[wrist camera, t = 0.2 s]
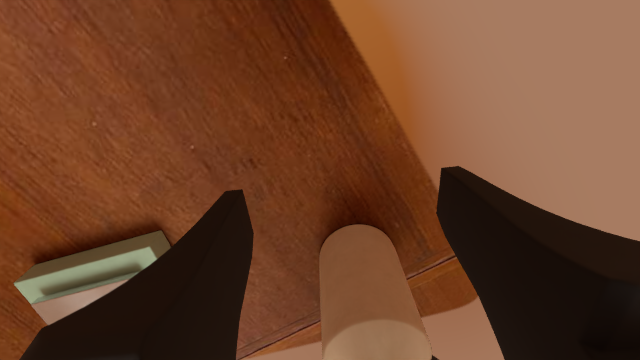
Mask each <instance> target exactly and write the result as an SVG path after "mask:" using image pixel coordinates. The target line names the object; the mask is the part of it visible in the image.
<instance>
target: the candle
mask: <svg viewBox="0 0 640 360" xmlns="http://www.w3.org/2000/svg"><path fill="white" fill-rule="evenodd" d="M319 272H320V302H321V331H322V359H323V360H431V358H432V349H431V345H430V342H429V339H428V337H427V334H426V331H425V328H424V326H423V323H422V320H421V317H420V315H419V312H418V309H417V307H416V304H415V301H414V299H413V296H412V293H411V291H410V288H409V285H408V283H407V280H406V277H405V274H404V272H403V269H402V266H401V264H400V261H399V258H398V256H397V253H396V250H395V248H394V246H393V244H392V242H391V240H390V239H389V238H388V236H387V235H386V234H385V233H384V232H382V231H381V230H379V229H377V228H375V227H372V226H369V225H361V224H357V225H350V226H346V227H343V228H341V229H338V230H337V231H335V232H334V233H332V234H331V235H330V236H329V237H328V238H327V239H326V240H325V242H324V244H323V245H322V248H321V251H320V256H319Z"/></svg>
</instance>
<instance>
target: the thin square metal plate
mask: <svg viewBox="0 0 640 360" xmlns="http://www.w3.org/2000/svg"><path fill="white" fill-rule="evenodd" d="M137 273H139V272H138V271H137V272H133V273H130V274H126V275H122V276H118V277H114V278H111V279H107V280H103V281H99V282H95V283H92V284H88V285H84V286H80V287H76V288H73V289H69V290H65V291H61V292H57V293H54V294H50V295H46V296H42V297H39V298H37V299H36V300H35V301H34V302H33V303H32V304H31V306H32V307H33V308H34V310H35V311H36V312H37V313H38V314H39V315H40V317H41V318H42V319H43V320H44V321H45V322H46V324H47V325H50V324H52V323H54V322H56V321H58V320H60V319H62V318H63V317H65V316H67V315H69V314H71V313H73V312H75V311H77V310H79V309H81V308H83V307H85V306H86V305H88V304H90V303H92V302H94V301H95V300H97V299H99V298H100V297H102V296H104V295H106V294H107V293H109V292H110V291H112V290H114V289H115V288H117V287H118V286H120V285H122V284H123V283H125V282H126V281H127V280H129V279H130V278H132V277H133V276H135V275H136V274H137Z"/></svg>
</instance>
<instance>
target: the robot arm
mask: <svg viewBox="0 0 640 360" xmlns="http://www.w3.org/2000/svg"><path fill="white" fill-rule="evenodd" d="M436 214H437V216H438V219H439V222H440V224H441V227H442V229H443V232H444V234H445V237H446V239H447V240H448V242H449V244H450V246H451V248H452V249H453V251H454V253H455V255H456V257H457V258H458V260H459V262H460V264H461V265H462V267H463V269H464V271H465V272H466V274H467V276H468V278H469V279H470V281H471V283H472V285H473V286H474V288H475V290H476V292H477V294H478V296H479V298H480V300H481V303H482V305H483V307H484V310H485V312H486V314H487V317H488V319H489V321H490V324H491V326H492V329H493V331H494V334H495V336H496V338H497V341H498V343H499V346H500V348H501V351H502V354H503V356H504V359H505V360H640V241H636V240H632V239H628V238H624V237H621V236H617V235H614V234H610V233H606V232H604V231H601V230H597V229H594V228H591V227H588V226H585V225H582V224H579V223H576V222H573V221H571V220H568V219H565V218H563V217H560V216H558V215H555V214H553V213H550V212H548V211H545V210H543V209H540V208H539V207H536V206H534V205H532V204H530V203H528V202H526V201H523V200H521V199H519V198H517V197H515V196H514V195H512V194H509V193H508V192H506V191H504V190H502V189H500V188H498V187H496V186H494V185H493V184H491V183H489V182H487V181H486V180H484V179H482V178H480V177H478V176H476V175H475V174H473V173H471V172H469V171H467V170H465V169H463V168H461V167H459V166H456V167H447V168H441V177H440V186H439V194H438V203H437V212H436ZM253 234H254V233H253V229H252V225H251V221H250V217H249V213H248V209H247V205H246V201H245V197H244V194H243V190H242V189H241V190H232V191H225V192H224V193H223V194H222V196H221V197H220V198H219V199H218V200H217V201H216V202H215V203H214V204H213V206H212V207H211V208H210V209H209V210H208V211H207V212H206V213H205V214H204V215H203V217H202V218H201V219H200V220H199V221H198V222H197V223H196V224H195V225H194V226H193V227H192V228H191V229H190V230H189V231H188V232H187V233H186V234H185V235H184V236H183V237H182V238H181V239H180V240H179V241H178V242H177V243H176V244H174V245H173V246H172V247H171V248H170V249H169V250H168V251H166V252H165V253H164V254H163V255H161V256H160V257H159V258H158V259H157V260H155V261H154V262H153V263H151V264H150V265H149V266H147V267H146V268H145V269H143V270H142V271H140V272H139V273H137V274H136V275H135V276H133V277H132V278H130V279H129V280H127V281H126V282H125V283H123V284H122V285H120V286H118V287H117V288H115V289H114V290H112V291H110V292H109V293H107V294H106V295H104V296H102V297H100V298H99V299H97V300H95V301H94V302H92V303H90V304H88V305H86V306H85V307H83V308H81V309H79V310H77V311H75V312H73V313H71V314H69V315H67V316H65V317H63V318H62V319H60V320H58V321H56V322H54V323H52V324H50V325H48V326H46V327H44V328H42V329H41V330H40V331H39V333H38V334H37V336H36V337H35V338H34V340H33V341H32V343H31V344H30V345H29V347H28V348H27V350H26V351H25V353H24V354H23V355H22V357H21V358H20V360H236V349H237V339H238V329H239V320H240V314H241V308H242V304H243V299H244V294H245V289H246V284H247V280H248V275H249V270H250V265H251V259H252V250H253Z"/></svg>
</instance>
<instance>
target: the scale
mask: <svg viewBox="0 0 640 360" xmlns="http://www.w3.org/2000/svg"><path fill="white" fill-rule="evenodd" d="M170 248H171V246H170V244H169V242H168V241H167V239H166V237H165V235H164V234H163V232H162V231H161V230H160V231H156V232H153V233H149V234H145V235H142V236H138V237H134V238H131V239H127V240H123V241H120V242H116V243H112V244H109V245H105V246H102V247H98V248H94V249H91V250H87V251H83V252H80V253H76V254H72V255H69V256H65V257H61V258H58V259H54V260H51V261H47V262H43V263H40V264H36V265H34V266H33V267H32V268H30V269H29V270H28V271H27V272H26V273H25V274H24V275H22V276H21V277H20V278H19V279H18V280H17V281H16V282H14V285H15V286H16V287H17V288H18V290H19V291H20V292H21V293H22V294H23V295H24V297H25V298H26V299H27V300H28V301H29V302H30V304H32V303H33V302H34V301H35V300H36V299H37V298H39V297H42V296H46V295H50V294H54V293H57V292H61V291H65V290H69V289H73V288H76V287H80V286H84V285H88V284H92V283H95V282H99V281H103V280H107V279H111V278H114V277H118V276H122V275H126V274H130V273H133V272H137V271H138V272H140V271H142V270H143V269H145V268H146V267H147V266H149V265H150V264H151V263H153V262H154V261H155V260H157V259H158V258H159V257H160V256H161V255H163V254H164V253H165V252H166V251H168V250H169V249H170Z"/></svg>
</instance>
